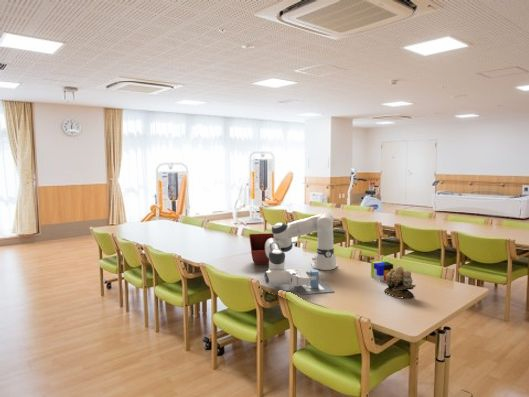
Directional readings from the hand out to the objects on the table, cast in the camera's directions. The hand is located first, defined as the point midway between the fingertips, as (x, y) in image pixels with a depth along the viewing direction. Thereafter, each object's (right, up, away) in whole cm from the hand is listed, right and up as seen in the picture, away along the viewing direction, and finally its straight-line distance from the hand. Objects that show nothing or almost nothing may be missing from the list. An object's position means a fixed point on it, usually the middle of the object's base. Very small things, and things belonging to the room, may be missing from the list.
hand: (314, 275), depth 237 cm
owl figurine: (+48, -9, -12) cm, 50 cm away
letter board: (-1, -8, +1) cm, 8 cm away
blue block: (0, -7, +1) cm, 7 cm away
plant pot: (-32, +1, +60) cm, 68 cm away
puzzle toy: (+47, -5, +19) cm, 50 cm away
